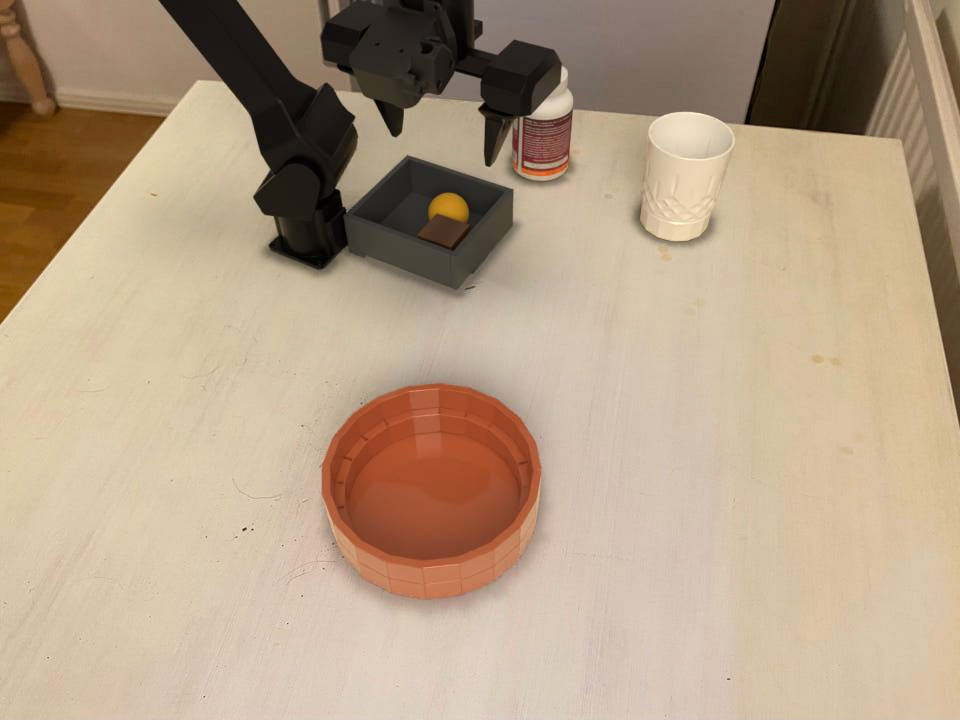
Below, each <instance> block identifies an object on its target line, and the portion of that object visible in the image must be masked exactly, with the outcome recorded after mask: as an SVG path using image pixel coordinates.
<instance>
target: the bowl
mask: <svg viewBox="0 0 960 720" xmlns="http://www.w3.org/2000/svg"><path fill="white" fill-rule="evenodd" d="M542 470H543V469H542V465H541V459H540V455H539V450H538V445H537V441H536V440H535V438H534V436H533V435H532V433H531V432H530V431H529V429H528V427H527V426H526V424H525V422H524V421H523V419H522V418H521V417H520V416H519V415H518V414H516V413H515V412H514V411H513V410H511V409H510V408H509V407H508V406H507V405H505V403H503V402H502V401H501V400H499V399H498V398H496V397H493V396H491V395H489V394H486V393H483V392H481V391H479V390H477V389H475V388H472V387H469V386H463V385H456V384H448V383H442V382H436V383H425V384H415V385H408V386H404V387H401V388H398V389H395V390H392V391H390V392H386V393H383V394H381V395H378V396H376V397H374V398H373V399H371V400H370V401H369V402H367V403H366V404H364V405H362V406H361V407H360V408H358V409H357V410H356V411H354V412H353V413H351V415H350V416H349V417H348V418H347V419H346V420H345V422H344V423H343V424H342V426H341V427H340V428H339V429H338V430H337V431H336V433H335V434H334V435H333V436H332V438H331V441H330V443H329V446H328V448H327V451H326V453H325V456H324V459H323V461H322V464H321V498H322V501H323V504H324V508H325V512H326V514H327V517H328V522H329V525H330V529H331V531H332V534H333V536H334V538H335V541H336V544H337V546H338V549H339V551H340V554H341V556H342V557H343V558H344V559H345V560H346V561H347V562H348V563H349V564H350V565H351V566H352V568H353V569H354V570H355V571H356V572H357V573H358V574H359V575H360V577H362V578H363V579H365V581H367V582H370V583H372V584H374V585H375V586H377V587H379V588H381V589H382V590H384V591H387V592H388V593H391V594H393V595H398V596H405V597H410V598H415V599H421V600H425V601H426V600H433V599H443V598H451V597H460V596H462V595H463V596H464V595H466V594H468V593H470V592H473V591H475V590H477V589H479V588H481V587H484V586H486V585H489V584H491V583H493V582H495V581H496V580H497V579H498V578H499V577H501V576H502V575H503V574H505V572H506V571H508V570H509V569H510V568H511V567H512V566H513V565H514V564H516V563H517V562H518V561H519V559H521V557H522V555H523V553H524V551H525V550H526V548H527V546H528V544H529V542H530V541H531V539H532V537H533V535H534V534H535V530H536V524H537V518H538V512H539V508H540V507H539V506H540V497H541V485H542V473H543V471H542Z"/></svg>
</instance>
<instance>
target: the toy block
mask: <svg viewBox="0 0 960 720" xmlns="http://www.w3.org/2000/svg"><path fill="white" fill-rule="evenodd" d="M469 233H470V225H469V224H466V223H463V222H460V221H458V220H455V219H452V218H449V217H446V216H443V215H440V214H436V215H435V216H434V217H433V218H432V219H431V220H430V221H429V222H428V224H427V225H426V226H425V227H424V228H423V229H422V230H421V231H420V232H419V234H418V235H417V238H418V239H421V240H424V241H427V242H429V243H432V244H435V245H438V246H440V247H443V248H446V249H449V250H451V251H454V250H455V249H456V248H457V246H458V245H459V244H460V243H461V242H462V241H463V240H464V238H465V237H466V236H467V235H468V234H469Z"/></svg>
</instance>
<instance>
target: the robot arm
mask: <svg viewBox="0 0 960 720" xmlns="http://www.w3.org/2000/svg"><path fill="white" fill-rule="evenodd" d="M157 1H158V2H159V3H160V5H161V6H162V8H163V9H164V10H165V11H166V12H167V14H168V15H169V16H170V17H171V18H172V20H173V21H174V22H175V24H177V26H178V27H179V28H180V30H181V31H182V32H183V33H184V35H185V36H186V37H187V39H188V40H190V42H191V43H192V45H193V46H194V47H195V48H196V49H197V51H198V52H199V54H201V55H202V57H203V58H204V60H205V61H206V62H207V63H208V64H209V66H210V67H211V68H212V70H213V71H214V72H215V73H216V75H217V76H218V77H219V78H220V80H221V81H222V82H223V83H224V84H225V85H226V87H227V88H228V90H230V91H231V93H232V94H233V95H234V97H235V98H236V99H237V101H238V102H239V103H240V104H241V106H242V107H243V108H244V109H245V111H246V112H247V113H248V115H249V117H250V120H251V124H252V127H253V132H254V135H255V139H256V142H257V143H256V144H257V147H258V150H259V151H258V152H259V153H260V156H261V157H262V159H263V160H264V162H265V164H266V165H267V167H268V169H269V171H268V172H267V173H266V176H265V177H264V178H263V179H262V182H261V183H260V185H259V186H258V188H257V189H256V191H255V192H254V194H253V196H252V198H253V200H254V202H255V204H256V205H257V207H258V208H259V210H260V212H261V213H262V214H263V215H264V216H267V217H273V220H274V225H275V227H276V232H277V236H276V237H275V238H274V239H273V240H271V241H270V243H269V244H268V249H269V251H270V252H273V253H275V254H277V255H279V256H283V257H286V258H288V259H290V260H293V261H296V262H298V263H300V264H303V265H306V266H308V267H311V268H313V269H316V270H324V268H326V266H328V265H329V264H330V263H331V262H332V261H333V260H334V259H335V258H336V257H337V256H338V255H339V254H340V253H341V252H342V251H343V250H344V249H345V248H346V247H348V241H347V235H346V229H345V223H344V217H343V216H344V215H345V214H346V213H347V212H348V211H347V208H346V206H344V204H343V199H342V192H341V190H340V189H338V188H337V187H338V184H339V183H340V181H341V179H342V176H343V175H344V173H345V172H346V169H347V168H348V166H349V164H350V162H351V160H352V159H353V156H354V155H355V153H356V151H357V149H358V140H359V134H358V131H357V128H356V126H355V124H354V121H355V120H356V118H357V117H356V115H354V114H353V113H352V112H351V111H350V110H348V108H346V106H345V105H344V104H343V103H342V101H341V100H340V98H339V96H338V94H337V92H336V90H335V89H334V87H333V86H332V85H331V84H330V83H328V82H324V83H322V84H321V85H320V86H319V87H318V88H315V87H313V86H310V85H309V84H307V83H305V82H303V81H301V80H299V79H298V78H296V77H295V76H294V74H292V72H291V70H290V69H289V68H288V66H287V65H286V64H285V63H284V61H283V60H282V59H281V57H280V56H279V54H278V53H277V51H275V50H274V48H273V47H272V45H271V44H270V43H269V41H268V40H267V39H266V37H265V36H264V34H263V33H262V32H261V31H260V29H259V28H258V26H257V25H256V23H255V22H254V21H253V20H252V18H251V17H250V15H249V14H248V13H247V12H246V10H245V9H244V8H243V7H242V5H241V3H240V2H239V0H157ZM382 3H383V4H382V5H381V4H377V3H373V2H369V1H366V0H355V1H353V2H352V3H350V4H349V5H347V6H346V7H344V8H343V9H342V10H341V11H339V12H337V13H336V14H334V15H333V16H332V17H330V18H329V19H328V20H325V22H324V24H323V25H322V27H321V31H320V34H319V41H320V47H321V53H322V58H323V60H324V61H327V62H330V63H334V64H336V68H337V69H338V70H339V72H341V73H344V74H347V75H349V76H351V77H353V78H355V79H356V81H357V84H358V86H359V88H360V91H361V93H362V95H363V97H365V98H366V99H369V100H371V101H372V100H373V102H374V104H375V106H376V109H377V111H378V112H379V114H380V117H381V118H382V120H383V122H384V124H385V126H386V128H387V129H388V131H389V133H390V135H391V137H393V138H398V137H399V136H400V135H401V134H402V133H403V130H404V129H403V128H404V119H405V118H404V117H405V110H408V109H412V108H415V106H417V104H419V103H420V101H421V100H422V98H423V97H424V96H425V95H426V94H432V95H435V96H440V95H442V94H443V92H444V91H445V89H446V88H447V86H448V84H449V83H450V81H451V79H452V78H453V76H454V74H455V73H458V74H463V75H466V76H468V77H469V76H470V77H472V78H477V79H480V82H479V83H480V84H479V85H480V87H479V88H480V89H479V90H480V91H479V93H480V95H479V96H480V97H481V99H482V100H483V103H482V104H481V105H479V106H478V108H477V111H478V112H479V113H480V114H481V115H482V116H483V117H484V133H483V134H484V140H483V159H484V166H485V167H488V168H491V167H492V166H493V165H494V164H495V162H496V161H497V158H498V156H499V154H500V151H501V150H502V147H503V145H504V143H505V141H506V139H507V137H508V134H509V132H510V130H511V128H512V126H513V122H514V120H515V119H517V118H518V117H524V116H530V115H532V114H533V112H534V111H535V110H536V109H537V108H538V107H539V106H540V105H541V104H542V103H543V102H544V101H545V100H546V98H547V97H548V96H549V95H550V94H551V93H552V92H553V91H554V90H555V89H556V88H557V87H558V85H559V84H560V83H561V70H562V66H563V63H562V61H561V58H560V56H559V54H558V53H557V52H556V50H555V49H553V48H549V47H545V46H541V45H537V44H534V43H530V42H526V41H522V40H518V39H512V40H511V42H509V43H508V44H507V45H506V46H505V47H504V48H503V49H502V50H501V51H500V52H499V53H494V52H490V51H486V50H484V49H483V50H482V49H480V48H476V40H478V39H479V38H480V37H481V36H483V35H484V21H483V20H480V19H476V18H475V0H382Z"/></svg>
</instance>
